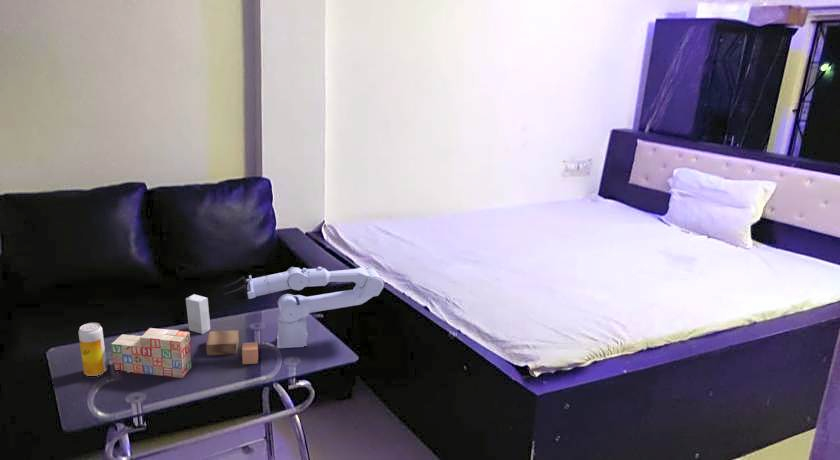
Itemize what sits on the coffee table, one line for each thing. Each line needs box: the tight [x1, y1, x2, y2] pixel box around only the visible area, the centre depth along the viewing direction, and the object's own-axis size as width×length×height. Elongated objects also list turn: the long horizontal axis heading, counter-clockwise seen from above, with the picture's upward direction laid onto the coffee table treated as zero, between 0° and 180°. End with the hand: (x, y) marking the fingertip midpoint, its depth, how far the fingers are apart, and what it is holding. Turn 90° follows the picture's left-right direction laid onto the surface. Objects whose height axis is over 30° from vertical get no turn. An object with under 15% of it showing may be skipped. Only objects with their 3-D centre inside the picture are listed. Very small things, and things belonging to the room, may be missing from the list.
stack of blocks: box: [110, 327, 192, 379], centre depth 182 cm, size 21×6×12 cm, turn 85°
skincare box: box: [185, 293, 211, 335], centre depth 206 cm, size 6×4×12 cm
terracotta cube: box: [241, 341, 259, 365], centre depth 191 cm, size 4×4×5 cm
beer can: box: [78, 322, 108, 377], centre depth 178 cm, size 6×6×15 cm
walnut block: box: [205, 329, 240, 356], centre depth 197 cm, size 9×9×4 cm
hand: (223, 294), depth 191 cm, fingers open, 7 cm apart
